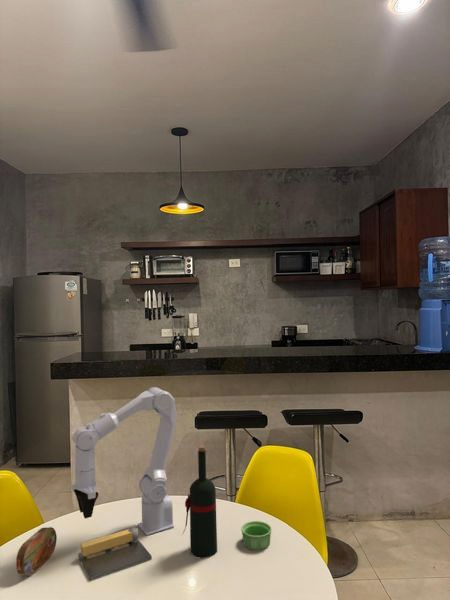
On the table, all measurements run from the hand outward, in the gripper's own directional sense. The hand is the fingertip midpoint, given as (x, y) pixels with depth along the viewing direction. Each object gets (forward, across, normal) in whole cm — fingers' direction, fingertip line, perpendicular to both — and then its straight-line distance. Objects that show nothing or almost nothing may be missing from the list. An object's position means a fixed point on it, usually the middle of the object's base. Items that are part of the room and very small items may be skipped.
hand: (85, 514), depth 131 cm
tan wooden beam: (+8, +7, +5) cm, 12 cm away
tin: (+10, +2, -14) cm, 17 cm away
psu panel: (+9, +11, +5) cm, 15 cm away
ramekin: (+10, +27, +43) cm, 52 cm away
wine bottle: (+10, +21, +27) cm, 36 cm away
